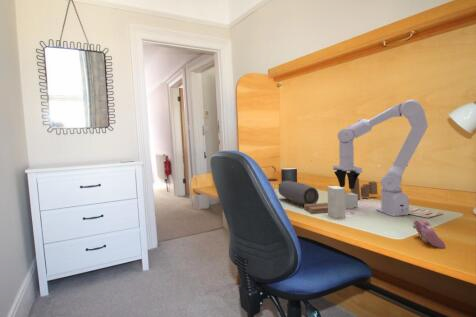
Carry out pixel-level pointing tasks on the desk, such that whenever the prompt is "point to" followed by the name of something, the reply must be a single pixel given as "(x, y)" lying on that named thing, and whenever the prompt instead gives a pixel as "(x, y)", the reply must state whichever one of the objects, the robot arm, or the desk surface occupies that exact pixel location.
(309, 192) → the bluetooth speaker
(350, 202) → the brick
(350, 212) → the cream rectangular panel
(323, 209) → the base slab
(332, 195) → the skincare box
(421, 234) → the pink lumpy wedge
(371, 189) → the wooden block set
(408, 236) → the desk surface
